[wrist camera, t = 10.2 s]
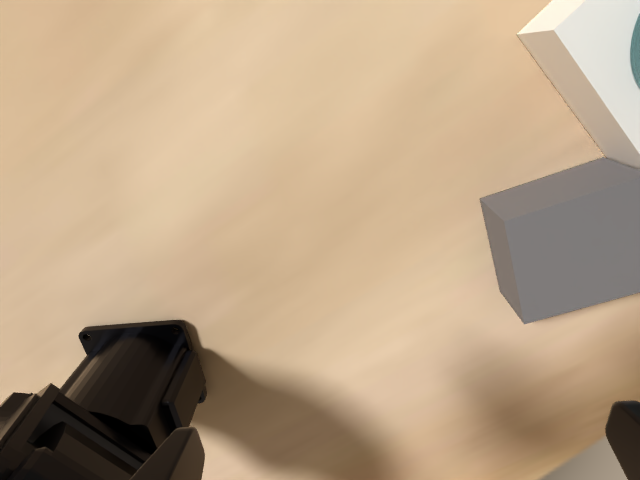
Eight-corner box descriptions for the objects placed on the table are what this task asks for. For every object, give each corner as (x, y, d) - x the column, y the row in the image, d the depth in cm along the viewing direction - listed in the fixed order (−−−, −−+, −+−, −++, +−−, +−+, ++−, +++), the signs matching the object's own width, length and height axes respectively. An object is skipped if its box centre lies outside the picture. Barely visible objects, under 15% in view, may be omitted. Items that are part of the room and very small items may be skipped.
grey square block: (500, 291, 22) (524, 324, 19) (479, 198, 20) (504, 221, 17) (610, 259, 21) (652, 288, 18) (603, 157, 19) (650, 174, 16)
